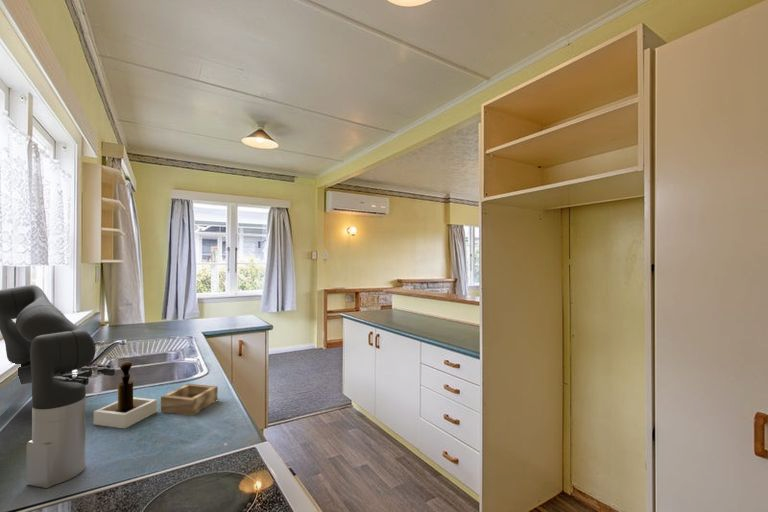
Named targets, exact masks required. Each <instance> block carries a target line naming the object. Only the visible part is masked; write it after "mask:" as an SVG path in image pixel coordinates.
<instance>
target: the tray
mask: <svg viewBox="0 0 768 512" xmlns="http://www.w3.org/2000/svg"><path fill="white" fill-rule="evenodd" d="M133 406H135V407H137V408H134V409H132V410H130V411H128V412H126V413H122V412H115V411H116V410H117V409H118V400H116V401H114V402H112V403H109V404H108V405H105V406H103V407H100V408H98V409H96V410H93V425H95V426H103V427H109V428H117V429H118V428H119V429H126V428H129V427H130V426H133V425H134V424H136V423H139V422H140V421H141V420H144V419H146V418H147V417H150V416H151V415H154V414H156V413H157V412H158V399H155V398H154V399H152V398H144V397H135V396H133Z"/></svg>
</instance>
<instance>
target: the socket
mask: <svg viewBox="0 0 768 512" xmlns="http://www.w3.org/2000/svg"><path fill="white" fill-rule="evenodd" d="M218 388H219V387H218V385H217V386H216V385H207V384H198V383H197V384H196V383H195V384H194V383H187V384H185V385H183V386H180V387H179V388H177V389H173V390H171V391H170V392H168V393H166V394H163V395H162V396H161V397H160V412H161V413H168V414H175V413H176V414H177V415H185V416H194V415H196V414H198V413H199V412H201V411H202V410H201V409H203V408H204V409H206V408H207V407H206V406H208V405H209V406H211V405H212V404H211V403H213V402H214V403H216V402H217V401H216V400H219V399H218V395H219V393H218ZM215 401H216V402H215ZM214 403H213V404H214ZM210 404H211V405H210ZM209 406H208V407H209ZM205 407H206V408H205ZM204 409H203V410H204ZM200 410H201V411H200ZM198 411H199V412H198ZM197 412H198V413H197ZM195 413H196V414H195Z"/></svg>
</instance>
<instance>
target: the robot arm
mask: <svg viewBox="0 0 768 512" xmlns="http://www.w3.org/2000/svg"><path fill="white" fill-rule="evenodd" d="M14 320H15V321H14ZM0 334H1V336H2V338H3V340H4V344H5V352H6V358H7V360H8V361H9V362H10V364H12V363H15V364H21V367H19V368H18V376H19V379H20V382H21V385H27V384H31V399H32V401H31V440H29V441H27V442H26V482H25V483H26V485H28V486H34V487H39V488H42V489H43V488H45V489H48V488H50V487H53V486H54V485H58V484H61V483H63V482H67V481H68V480H69V481H70V480H71V479H73V478H75V477H76V476H78V475H80V474H81V473H82V472H83V471H84V470H85V468H86V393H87V391H86V386H87V385H89V379H92V378H97V377H98V376H107V377H108V376H109V377H110V376H111V377H113V376H115V374H116V369H115V368H112V367H111V364H100V363H96V364H93V366H88V365H90V364H92V361H93V360H94V358H95V355H96V344H95V340H94V338H93V337H92V335H91V334H90V333H89V332H88V331H86V330H85V329H84V328H82V327H80V326H78V325H77V324H74V323H73V322H72V321H70V320H69V319H68V318H67V316H65V314H64V313H62V311H61V310H59V309H58V307H56V306H55V305H54V304H53V303H51V301H50V299H49V298H48V296H47V295H46V293H45V292H44V291H43V290H42V288H41V287H39V286H38V285H35V284H28V285H27V284H26V285H22V286H16V287H9V288H8V287H7V288H4V289H0ZM93 372H94V374H93Z"/></svg>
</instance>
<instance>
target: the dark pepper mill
mask: <svg viewBox="0 0 768 512" xmlns="http://www.w3.org/2000/svg"><path fill="white" fill-rule="evenodd" d="M132 366H133V365H132V361H130V360H124V361H121V363H120V364H119V369H120V370H121V371H122V374H121V382H118V384H117V401H118V409H117V410H116V411H115V412H122V413H126V412H128V411H130V410H132V409H134V408H137V407H135V406H133V397H134V381H133V380H130V378H131V374H130V373H129V371H130V370H131V368H132Z"/></svg>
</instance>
